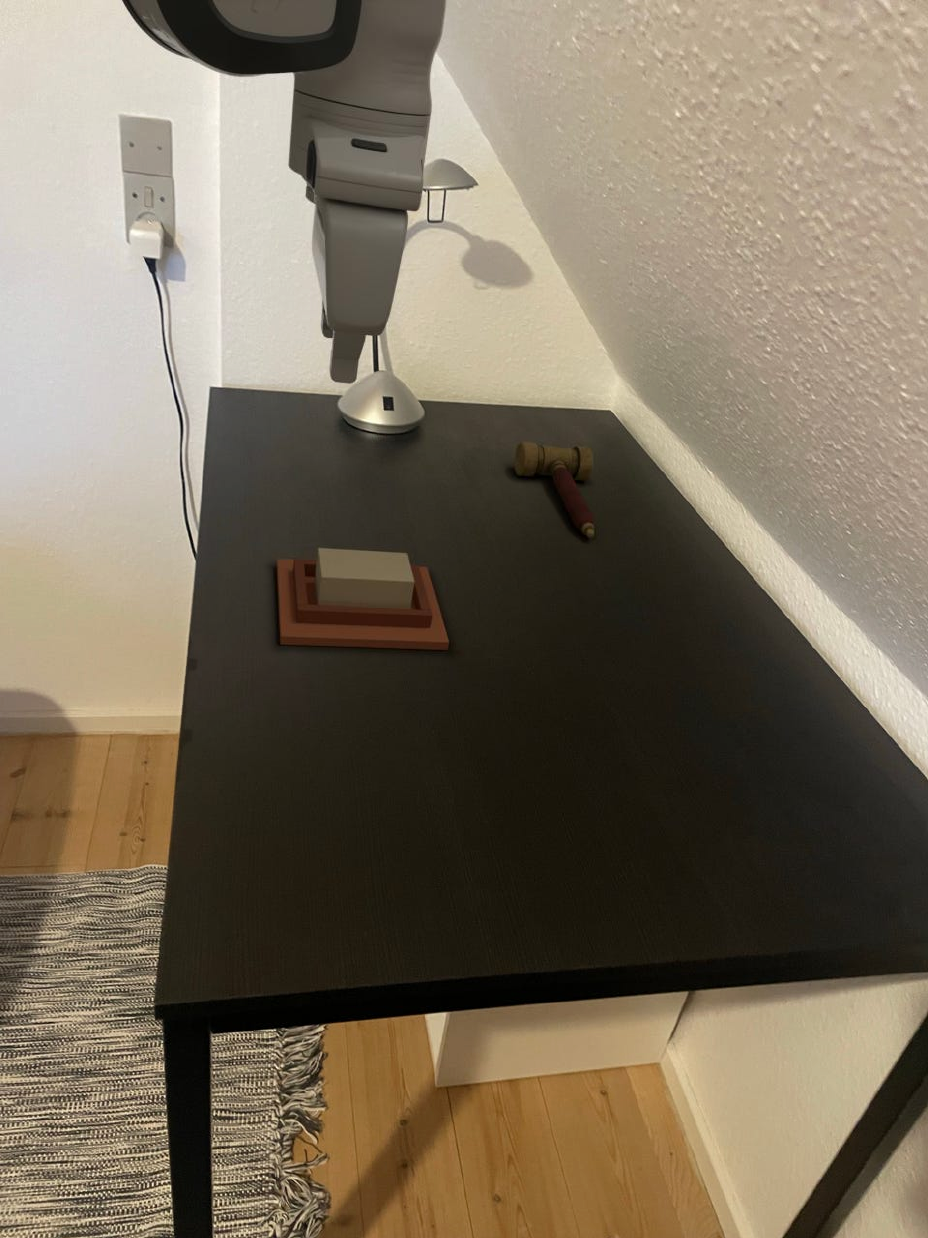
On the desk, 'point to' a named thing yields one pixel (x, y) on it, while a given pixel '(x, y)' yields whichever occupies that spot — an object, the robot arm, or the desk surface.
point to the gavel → (561, 476)
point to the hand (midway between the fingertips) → (336, 356)
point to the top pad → (363, 579)
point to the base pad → (355, 615)
